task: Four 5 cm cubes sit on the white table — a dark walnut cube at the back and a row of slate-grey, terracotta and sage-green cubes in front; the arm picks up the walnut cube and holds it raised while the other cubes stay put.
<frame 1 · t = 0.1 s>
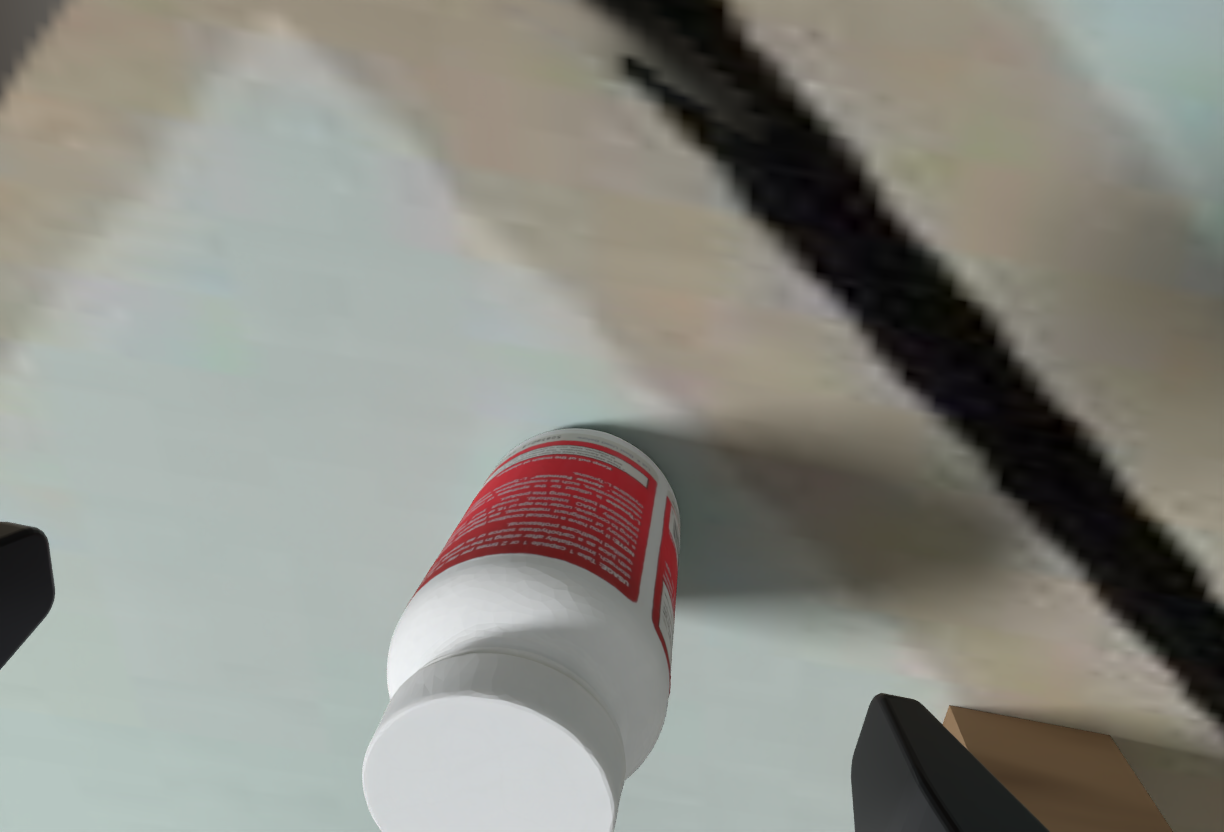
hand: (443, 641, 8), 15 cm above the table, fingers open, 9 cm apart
pill bottle: (584, 511, 24), on the table
walnut cube: (1003, 777, 26), on the table
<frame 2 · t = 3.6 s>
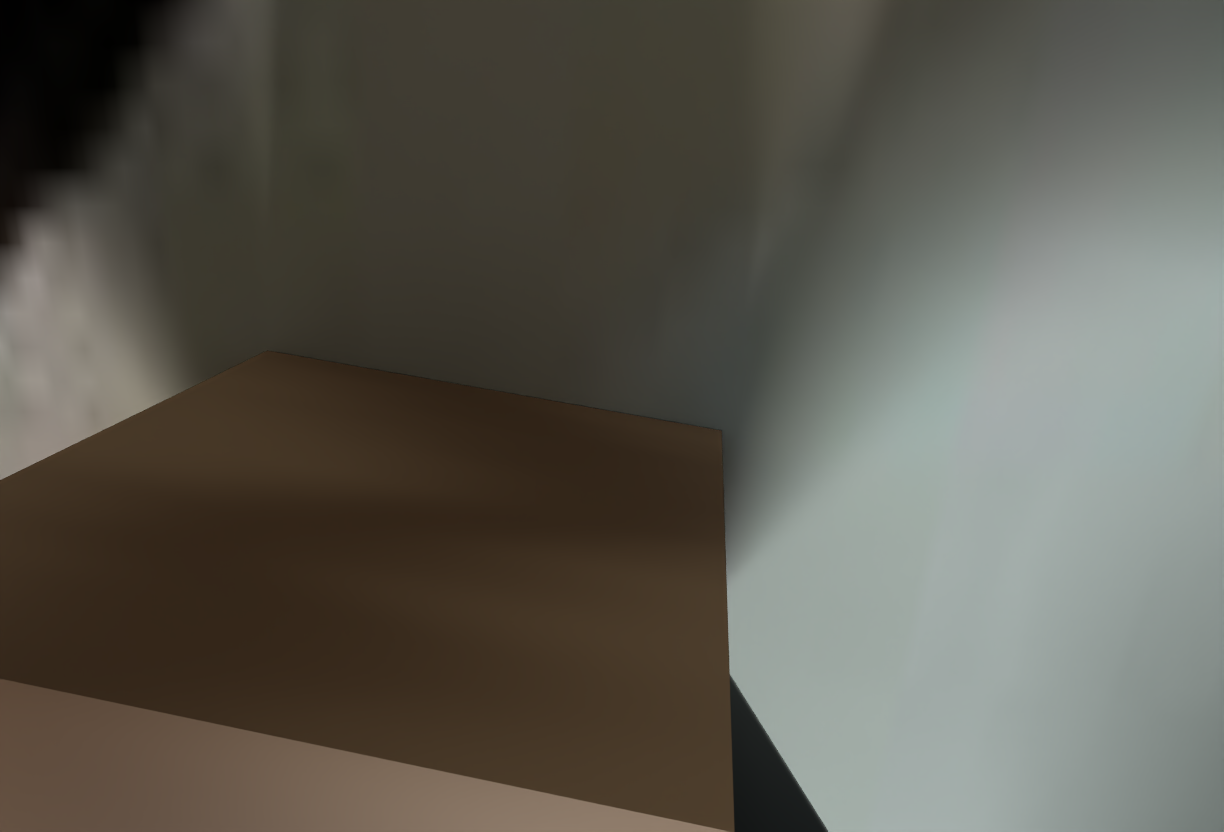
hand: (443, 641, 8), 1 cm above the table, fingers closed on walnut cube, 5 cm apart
walnut cube: (472, 587, 9), on the table, touching gripper
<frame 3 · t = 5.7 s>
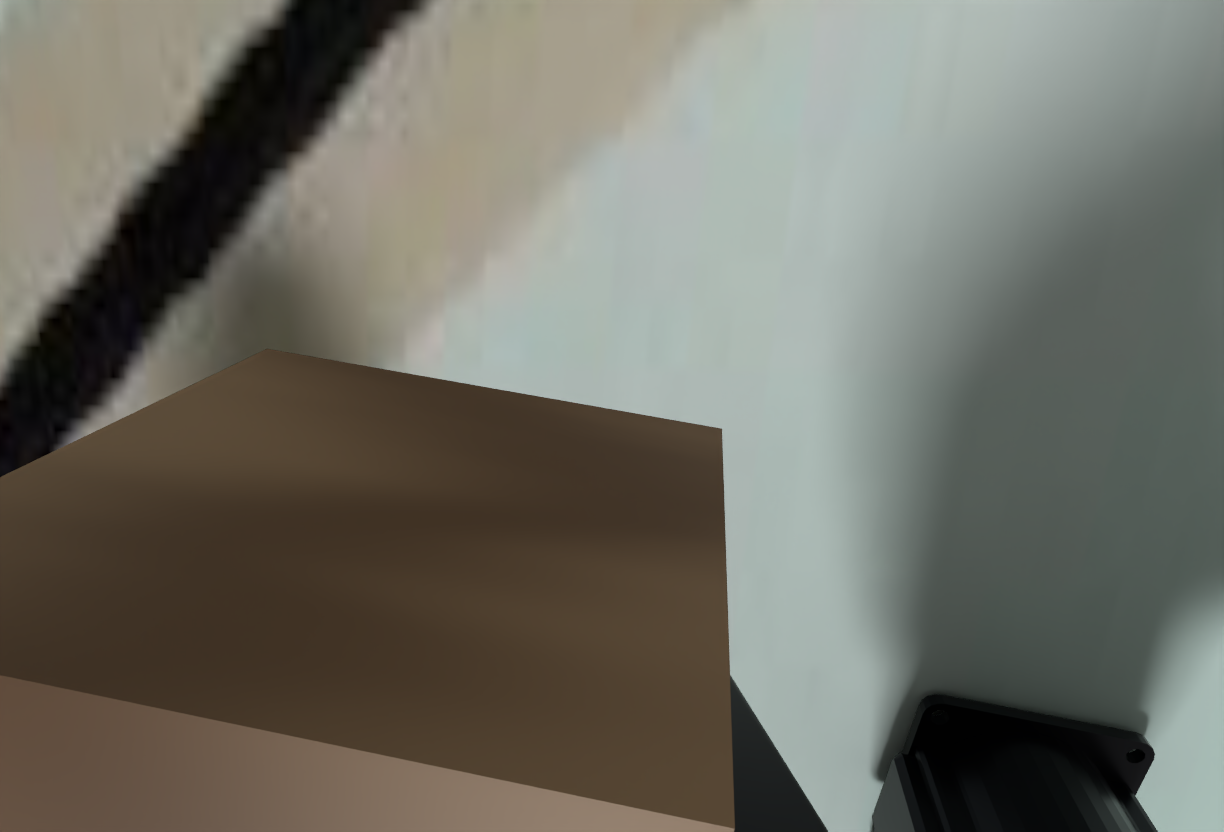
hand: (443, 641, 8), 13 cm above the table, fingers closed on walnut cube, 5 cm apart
walnut cube: (472, 585, 9), point 12 cm above the table, touching gripper
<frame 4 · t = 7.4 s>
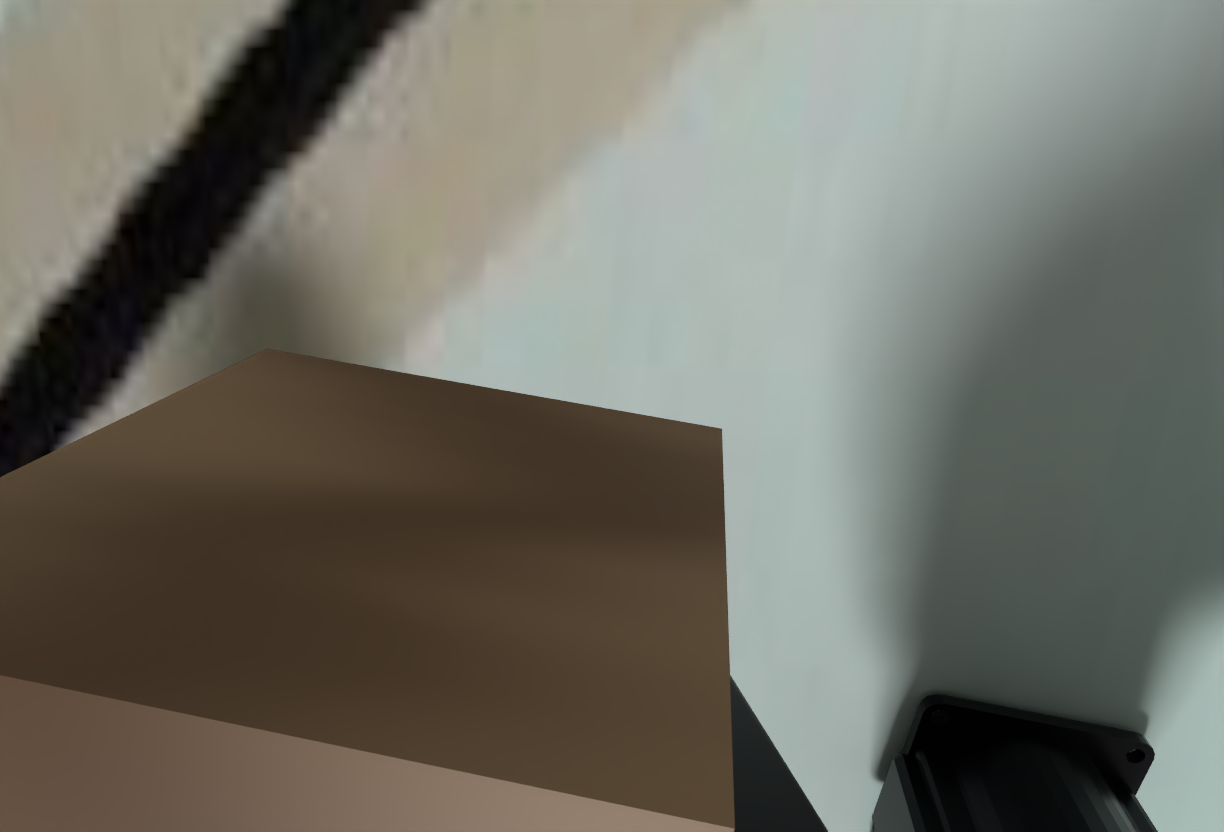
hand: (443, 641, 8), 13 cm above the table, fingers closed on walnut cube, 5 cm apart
walnut cube: (472, 585, 9), point 12 cm above the table, touching gripper
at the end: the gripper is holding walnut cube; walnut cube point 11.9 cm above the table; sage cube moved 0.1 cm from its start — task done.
